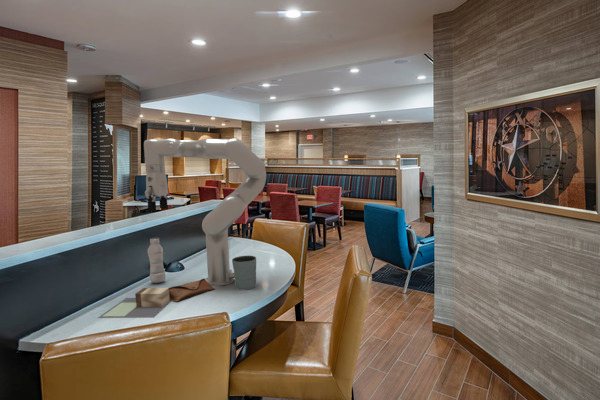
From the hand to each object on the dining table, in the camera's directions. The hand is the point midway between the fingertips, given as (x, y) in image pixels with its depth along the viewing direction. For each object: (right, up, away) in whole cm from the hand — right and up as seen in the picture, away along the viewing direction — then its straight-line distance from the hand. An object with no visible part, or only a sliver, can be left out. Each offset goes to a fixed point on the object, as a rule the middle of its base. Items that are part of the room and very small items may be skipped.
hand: (158, 209), depth 150 cm
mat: (+1, -36, -20) cm, 41 cm away
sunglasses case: (+17, -34, -8) cm, 39 cm away
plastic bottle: (-3, -33, +8) cm, 34 cm away
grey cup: (+37, -33, 0) cm, 49 cm away
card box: (+5, -35, -17) cm, 39 cm away
